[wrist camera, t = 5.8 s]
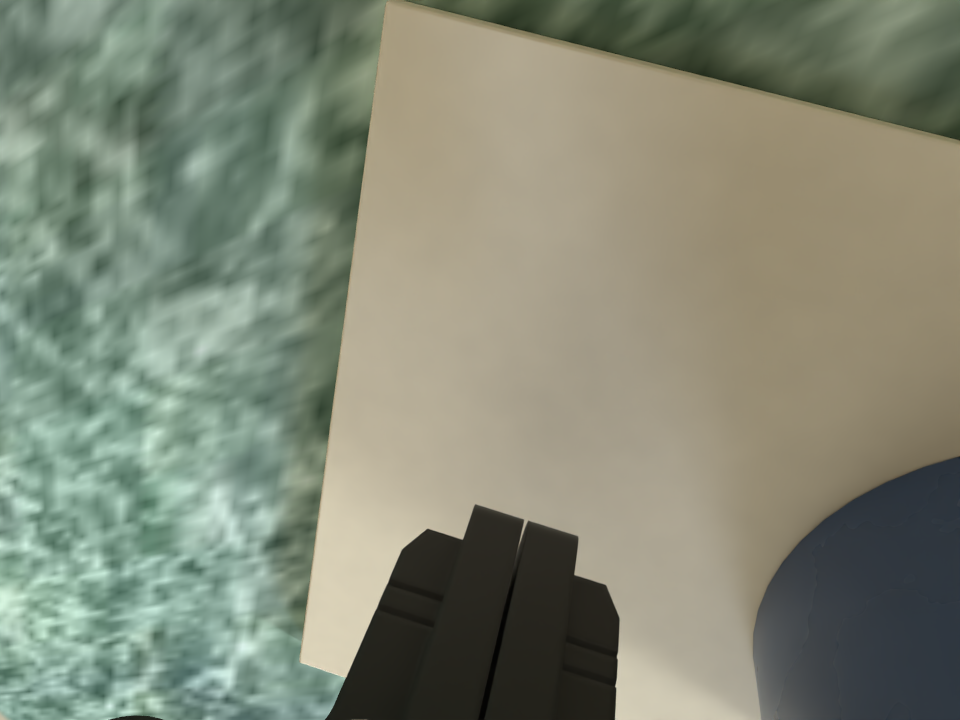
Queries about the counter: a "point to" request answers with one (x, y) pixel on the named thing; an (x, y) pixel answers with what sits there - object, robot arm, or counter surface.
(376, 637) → the robot arm
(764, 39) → the counter surface
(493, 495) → the mat
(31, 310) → the counter surface
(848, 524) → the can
